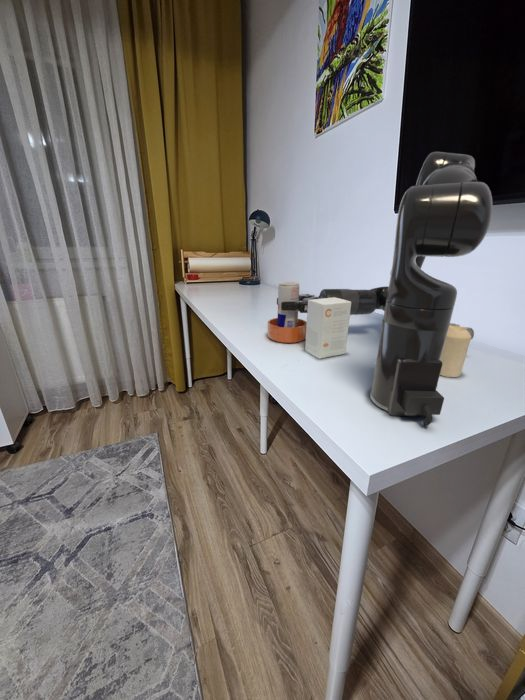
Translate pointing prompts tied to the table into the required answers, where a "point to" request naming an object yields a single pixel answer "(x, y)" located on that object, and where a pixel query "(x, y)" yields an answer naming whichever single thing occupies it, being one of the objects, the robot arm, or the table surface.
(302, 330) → the bowl
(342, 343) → the small box
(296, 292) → the beverage can
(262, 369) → the table surface
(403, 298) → the robot arm
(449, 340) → the candle
